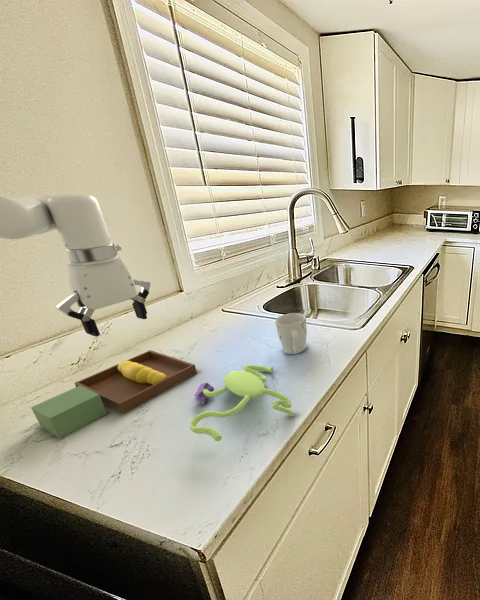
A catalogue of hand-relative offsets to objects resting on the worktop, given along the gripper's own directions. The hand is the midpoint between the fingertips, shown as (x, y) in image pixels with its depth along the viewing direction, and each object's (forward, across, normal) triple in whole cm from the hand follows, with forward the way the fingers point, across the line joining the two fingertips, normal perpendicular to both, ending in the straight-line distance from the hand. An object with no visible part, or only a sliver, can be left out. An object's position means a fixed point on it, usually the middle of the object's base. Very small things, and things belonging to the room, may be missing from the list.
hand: (119, 326), depth 76 cm
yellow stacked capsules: (+15, 0, -1) cm, 15 cm away
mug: (+17, -28, +25) cm, 41 cm away
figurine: (+17, -4, +31) cm, 35 cm away
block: (+16, +14, +1) cm, 21 cm away
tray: (+16, 0, -1) cm, 16 cm away
